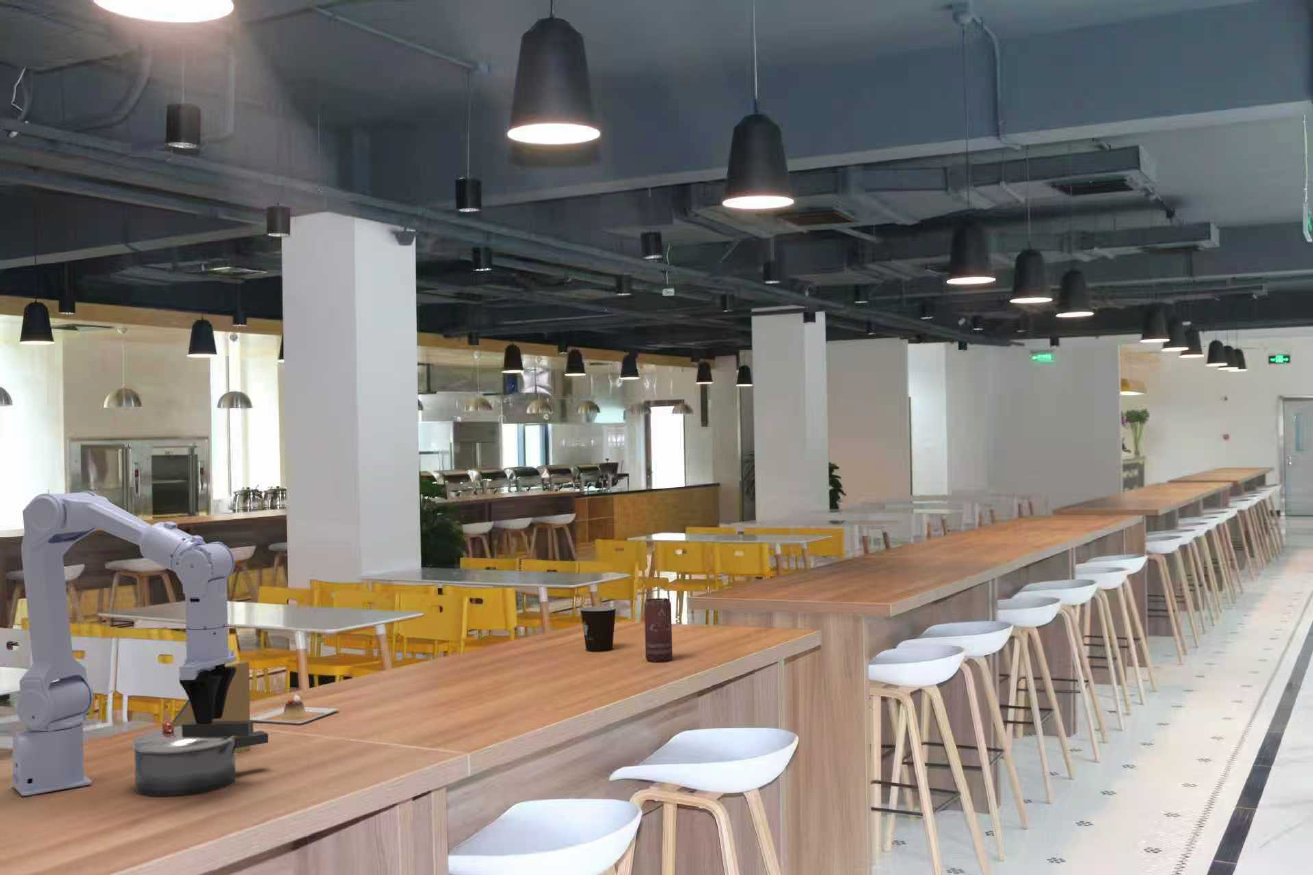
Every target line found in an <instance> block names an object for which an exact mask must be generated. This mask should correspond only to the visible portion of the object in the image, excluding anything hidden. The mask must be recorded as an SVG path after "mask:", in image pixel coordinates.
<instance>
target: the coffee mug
mask: <svg viewBox="0 0 1313 875" xmlns="http://www.w3.org/2000/svg"><path fill="white" fill-rule="evenodd" d="M616 611H617V610H616V607H615V606H589V607H588V606H587V607H581V608H580V615H581V622H582V631H583V638H584V645H585V651H586V652H592V653H602V652H609V651H611V652H612V650H613V646H614V637H615V636H614V633H615V624H616Z"/></svg>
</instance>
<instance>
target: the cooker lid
mask: <svg viewBox="0 0 1313 875" xmlns="http://www.w3.org/2000/svg"><path fill="white" fill-rule="evenodd" d="M161 726H162V727H161V729H155V730H152V731H148V732H145V733H142V734H140V735H138V736H137V735H136V737H134V738H133V739H132V749H133V751H134V752H135V751H138V752H142V753H150V754H172V753H184V752H193V751H199V750H205V749H210V748H214V747H218V746H222V745H225V744H227V743H230V742H232V741H233V740H235V739H236V736H246V735H250V734H252V733H253V732H254V722H253V720H245V721H212V723H211V724H196V721H194V722H186V723H184V724H182V726H178V727H174V722H172V721H167V722H163V723H161Z"/></svg>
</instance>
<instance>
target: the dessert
mask: <svg viewBox="0 0 1313 875" xmlns="http://www.w3.org/2000/svg"><path fill="white" fill-rule="evenodd" d="M304 705H305V704H304V702H303V701H302V699H301V697H300V695H298V694H294V697H293V698H289V699H287V702H285V704H284V707H281V708H278V709H275V710H272V711H269V712H266V713H263V714H259V715H257V716H253V717H250V720H253V723H267V724H281V725H282V724H283V725H286V724H287V725H303V724H307V723H309V722H311V721H312V722H313V721H315V720H317V719H320V718H324V717H326V716H328V715H331V714H332V715H333V714H334V713H336V712H338V711H339V710H340V708H333V707H311V706H304ZM307 712H310V713H323V714H320V715H317V716H314V717H311V718H309V719H306V720H303V721H294V720H301V719H304V718H307V717H308V715H307ZM281 714H282V717H281V719H282V720H270V719H269V718H271V717H274V716H277V715H281ZM268 719H269V720H268ZM286 720H287V721H286ZM291 720H292V721H291Z"/></svg>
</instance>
